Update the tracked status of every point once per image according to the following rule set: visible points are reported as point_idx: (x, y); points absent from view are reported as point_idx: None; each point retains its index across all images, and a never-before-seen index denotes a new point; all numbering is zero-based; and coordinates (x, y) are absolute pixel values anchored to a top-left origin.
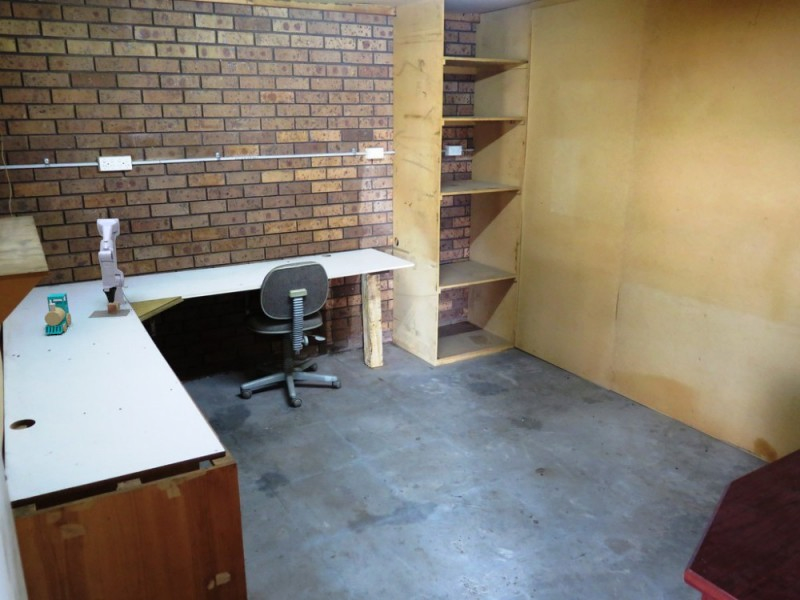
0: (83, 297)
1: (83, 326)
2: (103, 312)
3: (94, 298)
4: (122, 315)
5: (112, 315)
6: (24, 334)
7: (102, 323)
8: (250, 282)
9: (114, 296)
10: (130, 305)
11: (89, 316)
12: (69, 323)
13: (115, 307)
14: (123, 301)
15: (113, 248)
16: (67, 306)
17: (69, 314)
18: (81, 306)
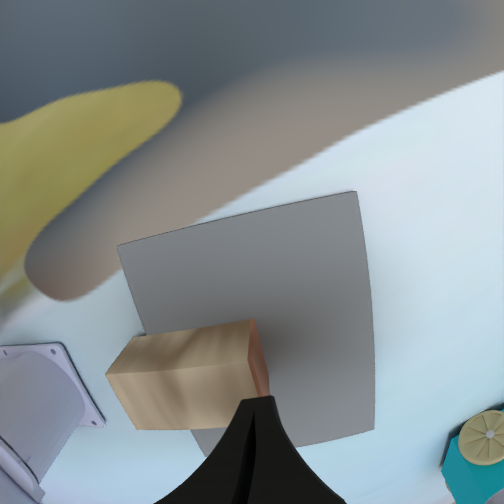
0: (41, 481)
1: (499, 363)
2: None
3: None
4: (335, 237)
5: (333, 321)
6: None
7: (482, 299)
8: None
9: (236, 441)
10: (29, 302)
11: (343, 437)
12: (489, 420)
13: (254, 352)
14: (8, 359)
15: None
16: (496, 490)
17: (492, 454)
18: (132, 493)
